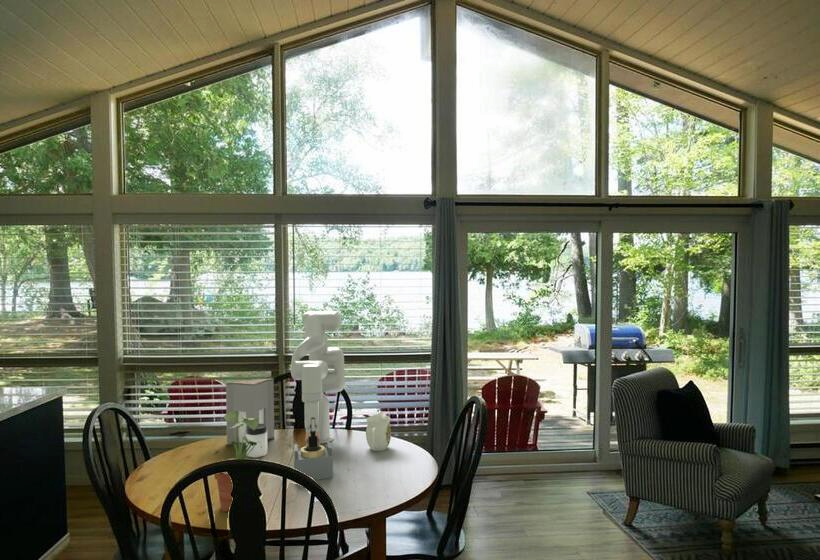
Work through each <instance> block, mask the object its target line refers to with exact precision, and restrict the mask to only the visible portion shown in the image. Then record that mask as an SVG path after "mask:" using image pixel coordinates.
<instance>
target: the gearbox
mask: <svg viewBox="0 0 820 560" xmlns="http://www.w3.org/2000/svg"><path fill="white" fill-rule="evenodd" d="M293 446H294V447H293V469H294V468H295V469H297V470H299V471H301V472H303V473H305V474H306V475H308V476H310V477H312V478H313V479H314V480H313V481H315V480H316V481H317V480H324V479H333V478H334V474H333V473H334V471H333V470H334V469H333V465H334V463H333V453H332V452H333V451H332V450H333V449H332V444H331V441H327V443H326V448H325V446H324V445H322V444H319V450H318V451H312V452H309V451H306V445H305V446H303V447H301V448H300V450H298V449H299V448H298V447H299V446H298V443H295V444H293Z"/></svg>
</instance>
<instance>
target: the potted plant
mask: <svg viewBox="0 0 820 560" xmlns="http://www.w3.org/2000/svg"><path fill="white" fill-rule="evenodd" d="M238 415H239V412H230V413H228V414H224V416H223V419H224V420H225V421H226V422H227V421H231V422H236V423H237V424H236V425H235V426H233V427H231V429H232V428H234V427H239V428H240V425H241V426H243V425H244V423H246V425H247V426H249V427H250V428H252V429H253V430H255V429H256V428H257V426H258V422H259V420H258V419H259V418H245V417H243V416H242V415H241V417H242V419H244V420H243V421H240V422H238ZM230 424H231V423H230ZM228 427H229V426H228ZM229 428H230V427H229ZM246 429H247V427H246ZM245 432H246V430H245ZM232 433H233V430H232ZM237 434H238V430H237ZM244 436H245V434H244ZM233 438H234V442H231V443H232V444H233V445H232V446H233V448H234V450H235V456H236V457H235V458H234V457H232V458H228V459H227V460H232V459H247V457H248V455H247V451H248V450H249V448H250V447H251V445H252V446H254V445H256V444H257V443H256V442H253V441H251V440H248V439H247V438H246V436H245V437H243V440H246V441H247V442H245V443H248V444H247V446H245V448H244V451H243V446H242V445H243V440H242V443H241V445H240V441H239V436H238V443H239V445H237V443H236V441H235V437H234V434H233ZM258 443H260V441H258ZM249 444H250V446H249ZM260 444H261V443H260ZM248 446H249V447H248ZM247 447H248V449H247ZM254 447H255V446H254ZM254 447H253V448H254ZM253 448H252V449H253ZM246 449H247V450H246ZM252 449H251V450H250V452H251V451H252ZM242 451H243V454H242ZM250 452H249V453H250ZM249 453H248V454H249ZM214 480H216V482H217V490H218V496H219V504H220V510H221V511H222V512H229V507H230V505H231V502H232V497H231V495H230V494H231V491H232V482H231V479H230V477H229V475H228V473H219V474H214Z"/></svg>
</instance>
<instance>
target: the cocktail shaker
mask: <svg viewBox="0 0 820 560" xmlns="http://www.w3.org/2000/svg"><path fill="white" fill-rule="evenodd" d="M310 428H312V427H311V426H310ZM311 431H312V430H311ZM319 445H320V444H319V425H318V428H317V447H309V428H307V429H306V428H305V446H306V451H309V452H312V451H318V450H319Z"/></svg>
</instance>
